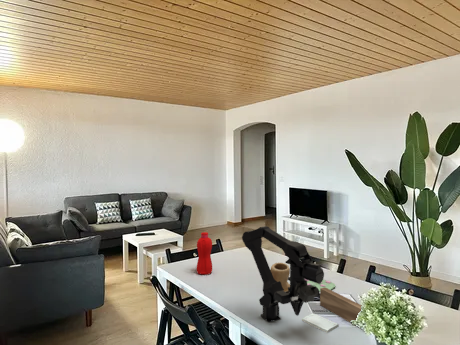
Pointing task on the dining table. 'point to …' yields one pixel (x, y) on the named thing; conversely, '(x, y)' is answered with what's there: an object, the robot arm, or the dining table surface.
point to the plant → (322, 284)
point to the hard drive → (320, 322)
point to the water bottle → (204, 254)
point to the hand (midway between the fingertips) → (296, 315)
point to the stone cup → (281, 274)
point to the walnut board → (339, 304)
